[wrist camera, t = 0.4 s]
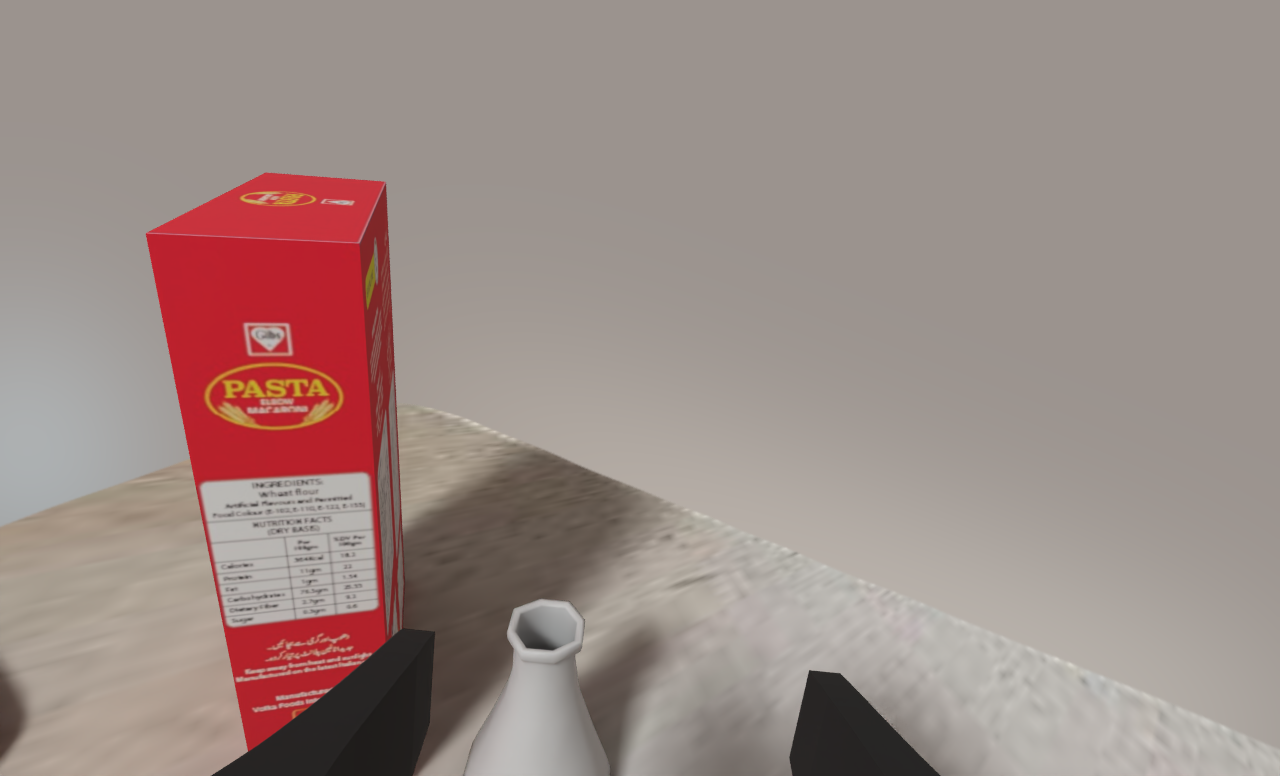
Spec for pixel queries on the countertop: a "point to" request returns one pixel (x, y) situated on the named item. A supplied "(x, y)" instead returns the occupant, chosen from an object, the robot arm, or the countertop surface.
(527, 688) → the flask
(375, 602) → the food packaging
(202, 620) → the countertop surface
